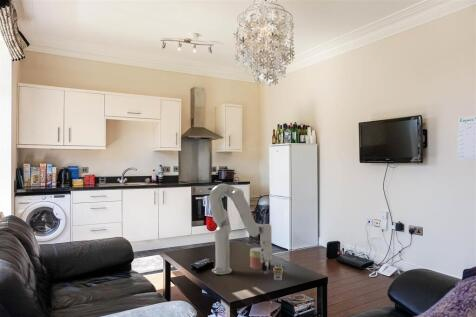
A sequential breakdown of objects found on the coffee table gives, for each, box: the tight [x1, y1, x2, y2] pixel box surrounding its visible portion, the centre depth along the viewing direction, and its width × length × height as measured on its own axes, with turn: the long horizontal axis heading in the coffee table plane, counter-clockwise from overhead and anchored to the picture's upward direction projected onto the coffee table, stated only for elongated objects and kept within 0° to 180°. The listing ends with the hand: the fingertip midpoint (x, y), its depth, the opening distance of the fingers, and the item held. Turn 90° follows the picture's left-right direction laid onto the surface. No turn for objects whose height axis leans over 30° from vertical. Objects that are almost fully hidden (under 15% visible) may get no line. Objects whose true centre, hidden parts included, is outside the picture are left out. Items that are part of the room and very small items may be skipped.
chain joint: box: [272, 263, 284, 281], centre depth 217 cm, size 27×7×2 cm, turn 172°
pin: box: [263, 259, 270, 275], centre depth 218 cm, size 4×4×10 cm
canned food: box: [249, 247, 264, 270], centre depth 232 cm, size 11×11×12 cm
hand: (266, 269), depth 218 cm, fingers open, 4 cm apart
